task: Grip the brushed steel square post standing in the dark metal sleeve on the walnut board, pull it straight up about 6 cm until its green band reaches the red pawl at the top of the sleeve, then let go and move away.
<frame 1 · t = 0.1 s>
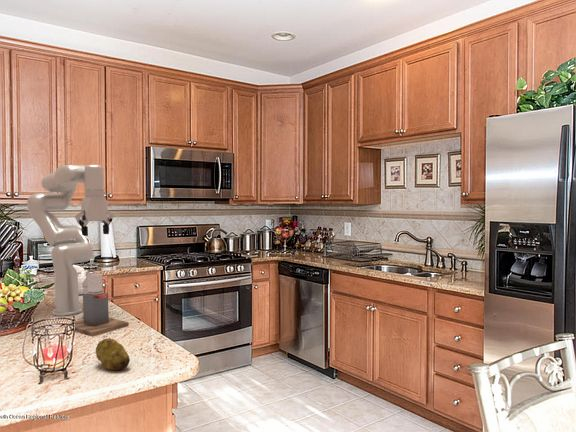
hand: (95, 234, 188), 37 cm above the countertop, fingers open, 9 cm apart
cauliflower: (76, 293, 244), on the countertop
potato: (112, 367, 138), on the countertop
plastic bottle: (91, 317, 196), on the countertop
steel post: (95, 298, 180), point 12 cm above the countertop, slide at 0.0 cm
stand: (96, 326, 181), on the countertop
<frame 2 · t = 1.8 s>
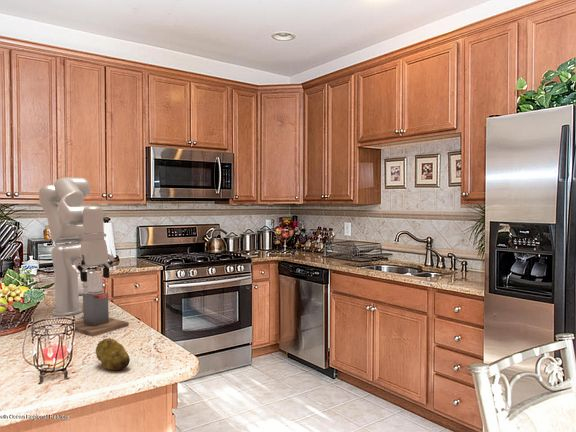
hand: (95, 279, 180), 19 cm above the countertop, fingers open, 9 cm apart
nothing on the countertop moved.
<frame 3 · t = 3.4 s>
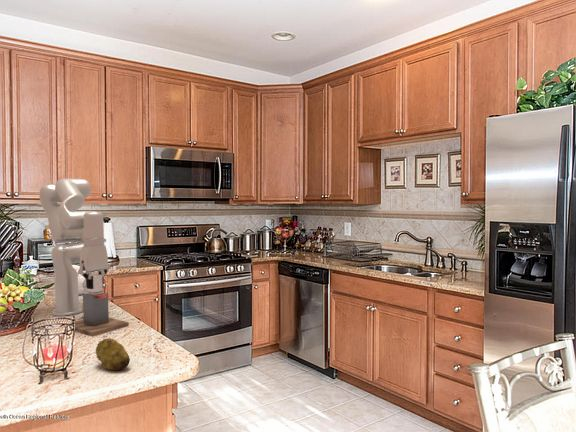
hand: (95, 287, 180), 16 cm above the countertop, fingers closed on steel post, 4 cm apart
steel post: (95, 298, 180), point 12 cm above the countertop, slide at 0.0 cm, touching gripper
everything else where it was.
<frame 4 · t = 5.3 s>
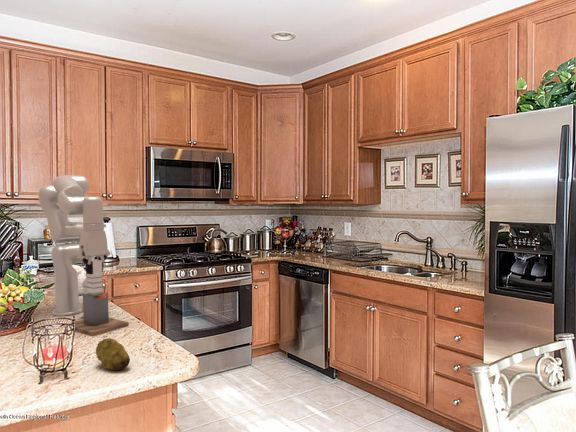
hand: (94, 272, 180), 22 cm above the countertop, fingers closed on steel post, 4 cm apart
steel post: (95, 284, 180), point 17 cm above the countertop, slide at 5.9 cm, touching gripper
everything else where it was.
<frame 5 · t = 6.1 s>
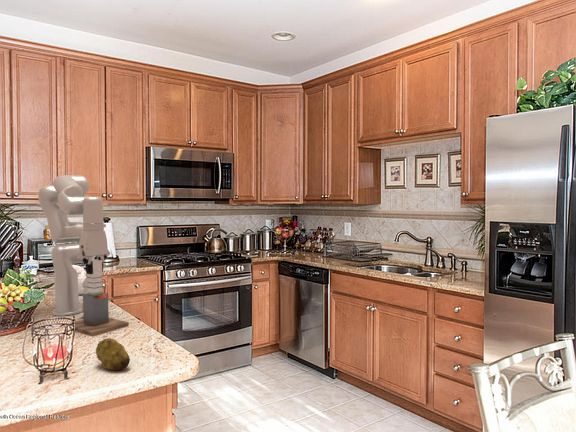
hand: (94, 272, 180), 22 cm above the countertop, fingers closed on steel post, 4 cm apart
steel post: (95, 284, 180), point 17 cm above the countertop, slide at 5.9 cm, touching gripper
everything else where it was.
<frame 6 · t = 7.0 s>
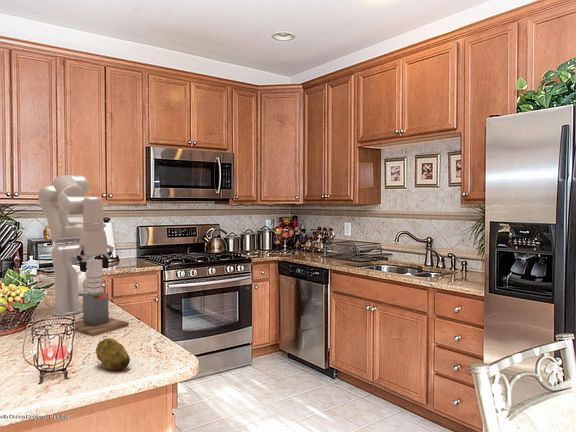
hand: (94, 269, 180), 23 cm above the countertop, fingers open, 9 cm apart
steel post: (95, 284, 180), point 18 cm above the countertop, slide at 6.0 cm
everything else where it was.
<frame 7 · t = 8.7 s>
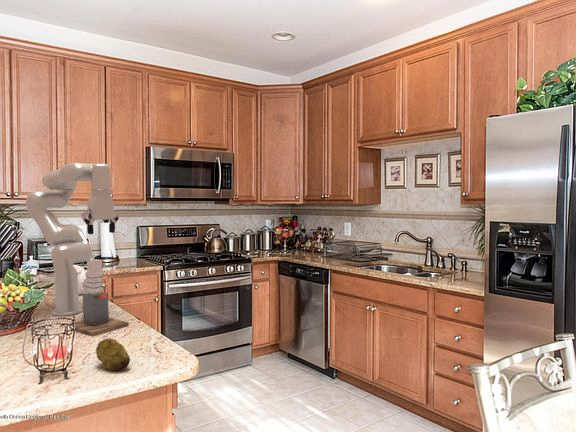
hand: (101, 233, 190), 37 cm above the countertop, fingers open, 9 cm apart
nothing on the countertop moved.
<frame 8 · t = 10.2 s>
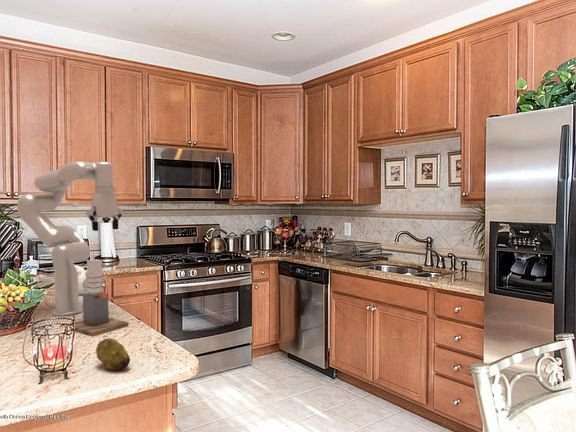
hand: (105, 229, 195), 38 cm above the countertop, fingers open, 9 cm apart
nothing on the countertop moved.
at the end: steel post slide at 6.0 cm; the gripper is holding nothing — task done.
